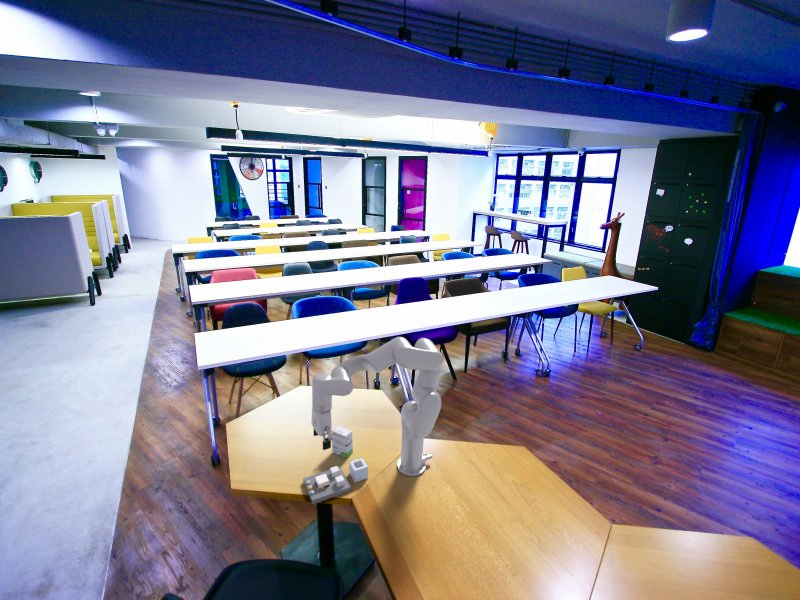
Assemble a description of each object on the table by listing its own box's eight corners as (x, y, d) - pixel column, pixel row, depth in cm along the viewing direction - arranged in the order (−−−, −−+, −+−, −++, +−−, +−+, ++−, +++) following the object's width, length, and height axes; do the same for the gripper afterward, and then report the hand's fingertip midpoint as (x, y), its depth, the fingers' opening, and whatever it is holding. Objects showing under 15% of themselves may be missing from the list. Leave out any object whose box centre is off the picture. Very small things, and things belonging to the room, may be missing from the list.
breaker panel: (340, 470, 178) (339, 461, 177) (351, 490, 167) (351, 481, 166) (303, 482, 171) (303, 473, 169) (312, 504, 160) (312, 495, 158)
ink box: (353, 452, 189) (353, 430, 185) (347, 458, 185) (346, 436, 181) (338, 446, 193) (337, 424, 189) (331, 452, 189) (331, 430, 185)
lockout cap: (362, 469, 179) (362, 457, 177) (367, 478, 174) (368, 466, 172) (349, 473, 176) (349, 461, 174) (354, 482, 171) (354, 470, 169)
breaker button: (325, 477, 170) (325, 473, 169) (329, 484, 166) (328, 480, 166) (315, 480, 168) (315, 477, 167) (318, 488, 164) (318, 484, 164)
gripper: (305, 396, 164) (305, 432, 169) (321, 418, 150) (321, 457, 155) (322, 391, 168) (322, 427, 173) (340, 413, 154) (339, 451, 159)
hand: (322, 441), depth 164 cm, fingers open, 9 cm apart
